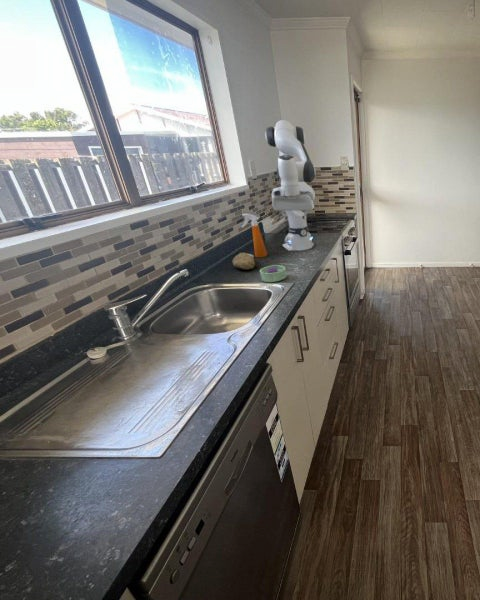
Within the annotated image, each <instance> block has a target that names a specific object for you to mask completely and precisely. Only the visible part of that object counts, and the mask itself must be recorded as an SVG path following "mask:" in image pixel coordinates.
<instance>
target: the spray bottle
mask: <svg viewBox="0 0 480 600" xmlns="http://www.w3.org/2000/svg"><path fill="white" fill-rule="evenodd" d="M241 216H242V217H244V222H243V224H242V226H241V228H244V227H245V226H246V225H247V224H248V222H249V221H251V222H250V224H251V231H252V240H253V248H254V249H253V250H254V258H259V259H260V258H264V257H268V252H267V249H266V246H265V242H264V239H263V236H262V233H261V229H260V226H259V222H258V220H259V219H260V217H259V216H257V215H254V214H251V213H242V214H241Z"/></svg>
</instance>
